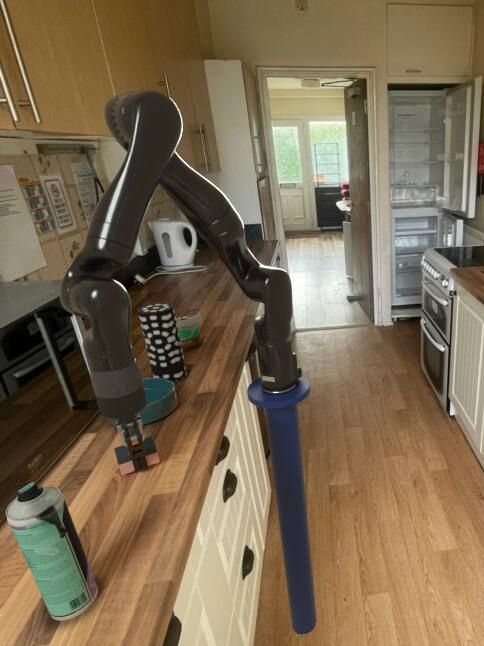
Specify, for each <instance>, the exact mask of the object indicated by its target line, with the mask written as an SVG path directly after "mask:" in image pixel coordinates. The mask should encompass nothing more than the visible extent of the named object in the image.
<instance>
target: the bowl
mask: <svg viewBox="0 0 484 646" xmlns="http://www.w3.org/2000/svg"><path fill="white" fill-rule="evenodd" d="M142 381H143V385H144V389H145V393H146V397H147V404H146V406H145V407H144V408H143V409H142V410H141V411H139V416H140V418H141V421H142V426H144V425H147V424H150V423H154V422H156V421H158V420H161V419H163V418H165V417H167V416H168V415H169V414H171V413H172V412H173V411H174V410H175V409H176V408H177V406H178V401H179V400H178V396H177V390H176V387H175V384H174V382H172V381H170V380H168V379H163V378H153V377H146V378H145V377H144V378H142ZM106 420H107V422H108V423H110V424H111V425H113V426H116V422H115V418H114V419H111V418H106ZM116 427H117V426H116Z"/></svg>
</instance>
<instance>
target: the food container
mask: <svg viewBox="0 0 484 646" xmlns="http://www.w3.org/2000/svg"><path fill="white" fill-rule="evenodd" d="M201 320H202V317H201V314H200V313H199V311H198V310H197V311H196V313H194V314H191V315H182V316H178V317H177V316H176V321H177V326H178V331H179V336H180V341H181V346H182V351H186V350H191V349H194V348H197V347H198V346H200V345H201V342H202V341H201V327H200V322H201Z"/></svg>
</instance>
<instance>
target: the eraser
mask: <svg viewBox="0 0 484 646" xmlns="http://www.w3.org/2000/svg"><path fill="white" fill-rule="evenodd" d="M144 438H145V440H144V441H143V443H144V448H145V450H146V455H145V457H146V461H147V465H148V467H150V466H152V465H155V464H158V463H160V461H161V460H160V457H159V453H158V449H157V446H156V443H155V440H154V438H153V435H151V436H146V437H144ZM113 449H114V453H115V457H116V462H117V465H118V468H119V471H120V475H121V476H125V475H127V474H130V473H133V472H135V469H134V466H133V462H132V460H131V458H130V457H129V454H128V453H129V450H128V447H125V446H124V444H122V445H119V446H116V447H114V448H113Z"/></svg>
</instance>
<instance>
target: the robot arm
mask: <svg viewBox="0 0 484 646" xmlns="http://www.w3.org/2000/svg"><path fill="white" fill-rule="evenodd" d="M103 115H104V116H103V117H104V120H105V125H106V126H107V129H108V130H109V132H110V134H111V136H112V137H113V138H114V140H115V141H116V142H117V143H118V144H119V146H121V148H122V149H123V150H124V151H125V152H126V154H125V158H124V159H123V161H122V163H121V166H120V167H119V170H118V171H117V173H116V174H115V176H114V177H113V179H112V180H111V182H110V183H109V185H108V186H107V188H106V189H105V190H104V192H103V193H102V194H101V196H100V198H99V200H98V201H97V203H96V205H95V207H94V210H93V213H92V215H91V218H90V221H89V225H88V228H87V232H86V235H85V238H84V243H83V246H82V248H81V249H80V250H79V251H78V253H77V254H76V256H75V257H74V259H73V261H72V262H71V264H70V266H69V267H68V269H67V271H66V272H65V273H64V276H63V278H62V280H61V282H60V286H59V300H60V303H61V306H62V307H63V309H64V310H65V311H66V312H67V313H69V314H71V315H73V316H76V317H81V318H83V319H89V321H90V323H91V324H90V325H91V331H90V332H89V333H87V334H86V335H85V336H84V337H83V339H82V349H83V353H84V356H85V359H86V363H87V367H88V370H89V377H90V378H89V379H90V383H91V387H92V389H93V392H94V396H95V400H96V403H97V406H98V410H99V414H100V416H102V417H104V418H106V419H107V418H111V419H114V418H115V422H116V429H117V433H119V434H120V437H121V440H122V445H124V446H125V447H128V450H129V453H128V454H129V457H130V458H131V460H132V462H133V466H134V469H135V471H134V472H135V473H139V472H143V471H144V470H147V469H148V468H149V466H148V465H147V461H146V457H145V455H146V450H145V448H144V443H143V441H144V440H145V438H146V437H145V435H144V431H143V428H142V427H143V425H142V421H141V418H140V416H139V411H141V410H142V409H143V408H144V407H145V406H146V404H147V397H146V393H145V389H144V385H143V381H142V379H143V378H142V373H141V369H140V366H139V364H138V361H137V359H136V356H135V352H134V347H133V344H132V340H131V332H132V315H133V313H132V312H133V308H132V307H133V306H132V305H133V304H132V300H131V297H130V295H129V292H128V290H127V289H126V287H125V286H124V285H123V284H122V283H121V282H119V281H117V280H115V279H113V278H112V277H113V275H114V273H115V271H116V270H118V269H121V268H125V267H127V266H129V265H130V263H131V262H132V260H133V257H134V254H135V251H136V248H137V243H138V240H139V237H140V233H141V230H142V226H143V223H144V219H145V217H146V214H147V212H148V209H149V206H150V203H151V202H152V199H153V197H154V194H155V192H156V190H157V187H158V186H159V187H160V189H161V190H162V191H163V192H164V193H165V195H166V196H167V197H168V198H169V199H170V201H171V202H172V203H173V204H174V205H175V207H176V208H177V209H178V210H179V211H180V212H181V213H182V215H183V216H184V218H185V219H186V220H187V222H188V223H189V224H190V225H191V227H192V228H193V229H194V230H195V231H196V233H197V234H198V235H199V236H200V238H201V239H202V240H203V241H204V242H205V243H206V244H207V246H208V247H209V248H210V250H212V252H214V254H215V255H216V257H218V259H219V260H220V262H222V263H223V265H224V266H225V267H226V269H227V270H228V271H229V273H230V275H231V276H232V278H233V279H234V281H235V282H236V284H237V286H238V287H239V288H240V290H241V292H242V293H243V294H244V296H245V297H247V298H248V299H249V300H251V301H253V302H256V303H259V304H263V314H259V315H257V316H256V317H255V318H254V319H253V332H254V340H255V347H256V355H257V362H258V363H257V364H258V372H259V378H260V380H261V390H262V391H263V392H264V393H266V394H269V395H282V394H286V393H289V392H291V391H292V390H294V389H295V388H296V387H298V386H299V379H298V378H300V377H302V375H303V370H302V366H300V365H299V364H298V356H297V354H296V353H295V352H294V346H293V334H292V318H293V313H294V312H293V311H294V308H293V307H294V306H293V285H292V280H291V277H290V275H289V273H288V272H287V271H286V270H285V269H282V268H278V267H273V266H268V265H264V264H262V263H260V262H259V261H258V260H257V258H256V257H255V256H254V254H253V252H251V250H250V249H249V247H248V246H247V242H246V233H245V232H246V231H245V226H244V222H243V220H242V218H241V216H240V214H239V213H238V212H237V210H236V208H235V207H234V205H233V204H232V203H231V201H230V200H229V199H228V198H227V196H226V195H225V194H224V192H223V191H221V190H220V189H219V188H218V187H217V186H216V185H215V184H213V183H212V182H211V181H210V180H208V179H207V178H205V177H204V176H203V175H201V174H200V173H199V172H197V171H196V170H195V169H194V168H192V167H191V166H190V165H188V164H187V162H185V161H184V160H183V158H181V156H179V153H177V152H176V149H177V146H178V145H179V142H180V140H181V138H182V134H183V128H184V127H183V118H182V114H181V112H180V109H179V108H178V106H177V104H176V103H175V101H174V100H173V99H172V98H171V97H170V96H168V95H167V94H166V93H164V92H162V91H159V90H156V89H155V90H154V89H140V90H135V91H130V92H124V93H120V94H115V95H114V96H112V97H109V98H108V99H107V101H106V102H105V105H104V110H103Z"/></svg>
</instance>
